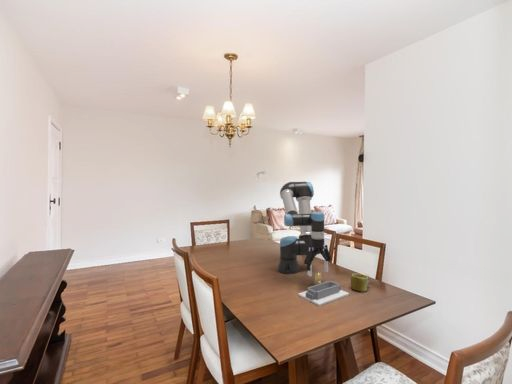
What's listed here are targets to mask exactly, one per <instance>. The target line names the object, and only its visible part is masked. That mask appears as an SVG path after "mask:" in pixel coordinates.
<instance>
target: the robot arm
mask: <svg viewBox="0 0 512 384" xmlns="http://www.w3.org/2000/svg"><path fill="white" fill-rule="evenodd" d="M314 193H315V192H314V187H313V184H312V183H311V181H289V182H286V183H284V184H283V185H282V186H281V188H280V191H279V195H280V196H279V197H280V198H281V200H282V203H283V206H284V207H283V208H284V212H285V214H284V215H283V223H284V225H285V226H286V227H299V228H300V230H299V231H300V234H299V235H298V237H297V236H295V235H292V236H291V235H287V236H285V237H282V238H280V241H279V262H278V265H277V272H279V273H281V274H286V275H287V274H289V275H291V274H297V273H299V272H300V266H299V262H298V256H305V259H304V262H303V264H304V265H306V271H307V276H309V277H313V266H312V263H313V261H314V259H315V258H316V256H317V255H321V256H322V257H323V259H324V260H323V271H324V272H326V273H328V272H329V265H330V263H329V262H330V261H331V260H332V257H331V253H330V251H329V248H328V245H327V244H325V213H324V212H322V211H312V210H311V209H312V208H311V200H312V198H313V197H314V195H315V194H314ZM294 198H295V200H296V202H298V205H297V206H298V209H297V206H296V202H295V200H294Z"/></svg>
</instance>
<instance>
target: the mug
mask: <svg viewBox="0 0 512 384" xmlns="http://www.w3.org/2000/svg"><path fill="white" fill-rule="evenodd" d="M350 277H351V278H350V288H351V290H353V291H356V292H361V293H364V292H367V290H368V284H369V282H370V280H371V276H370V275H368V274H363V273H362V274H361V273H352V274H351V275H350Z"/></svg>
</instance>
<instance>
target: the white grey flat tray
mask: <svg viewBox="0 0 512 384" xmlns="http://www.w3.org/2000/svg"><path fill="white" fill-rule="evenodd" d="M341 288H342V287H341V285H340V283H338V282H336V281H334V280H333V281H332V280H331V281H330V280H328V281H324V282H321V284H317V285H315V284H314V285H311V286H308V287H307V289H306V291H302V292H299V293H297V296H299V297H301V298H302V299H304V300H306V301H309V302H310V303H312V304H314V305H316V306H318V307H322V306H324V305H327V304H330V303H332V302H335V301H338V300H340V299H343V298H345V297H348V296H350V293H349V292H348V291H345V290H342V289H341Z"/></svg>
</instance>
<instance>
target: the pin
mask: <svg viewBox="0 0 512 384" xmlns="http://www.w3.org/2000/svg"><path fill="white" fill-rule="evenodd" d="M321 283H322V272H321V271H315V272H314V285H317V284H321Z"/></svg>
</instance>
